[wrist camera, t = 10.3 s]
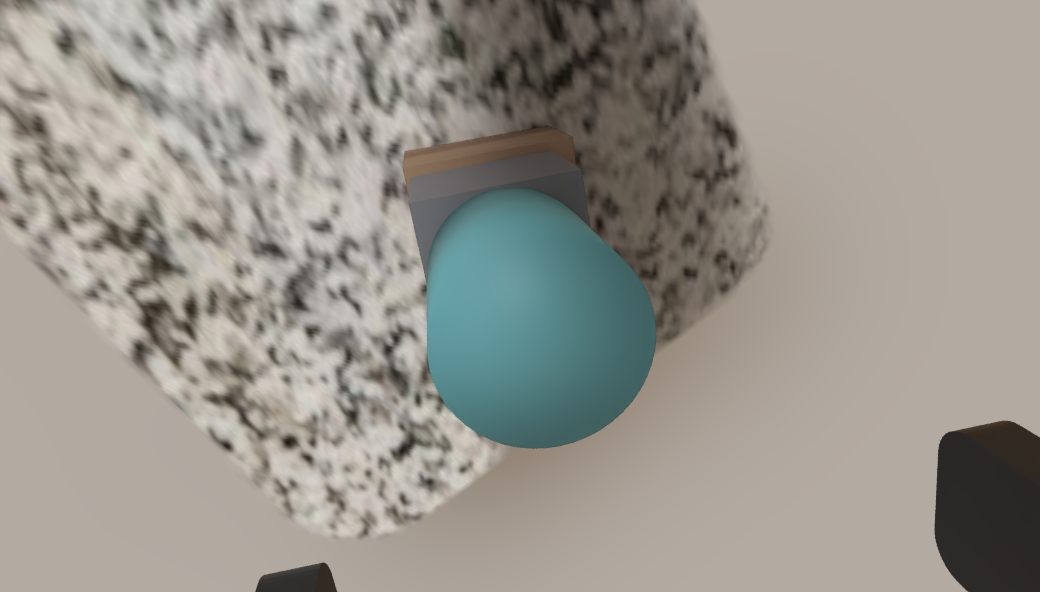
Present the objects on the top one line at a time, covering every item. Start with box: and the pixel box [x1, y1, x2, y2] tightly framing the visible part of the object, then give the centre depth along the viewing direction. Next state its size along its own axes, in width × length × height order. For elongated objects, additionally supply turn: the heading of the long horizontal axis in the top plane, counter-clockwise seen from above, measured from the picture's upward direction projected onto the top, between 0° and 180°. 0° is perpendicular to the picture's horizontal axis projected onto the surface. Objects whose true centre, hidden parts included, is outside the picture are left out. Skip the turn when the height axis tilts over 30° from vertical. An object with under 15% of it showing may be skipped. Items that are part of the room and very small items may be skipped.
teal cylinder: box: [427, 187, 656, 448], centre depth 19 cm, size 5×5×6 cm
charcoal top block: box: [409, 150, 590, 282], centre depth 24 cm, size 5×5×5 cm
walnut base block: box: [403, 126, 576, 195], centre depth 29 cm, size 6×6×5 cm
